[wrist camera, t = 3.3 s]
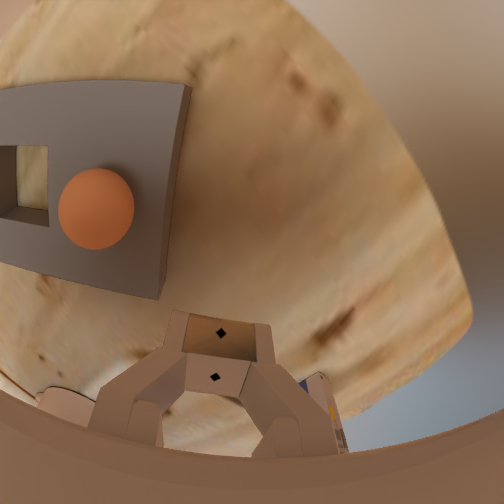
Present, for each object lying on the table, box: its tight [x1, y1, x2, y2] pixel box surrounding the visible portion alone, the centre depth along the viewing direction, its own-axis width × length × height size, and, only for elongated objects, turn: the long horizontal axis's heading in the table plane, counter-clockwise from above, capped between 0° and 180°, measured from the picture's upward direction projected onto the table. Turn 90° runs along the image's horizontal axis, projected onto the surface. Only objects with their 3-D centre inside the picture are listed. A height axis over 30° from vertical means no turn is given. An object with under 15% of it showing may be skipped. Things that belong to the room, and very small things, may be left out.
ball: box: [58, 168, 134, 250], centre depth 16 cm, size 5×5×5 cm
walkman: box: [299, 372, 349, 454], centre depth 28 cm, size 8×3×12 cm, turn 134°
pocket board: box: [0, 80, 192, 300], centre depth 18 cm, size 16×20×3 cm
